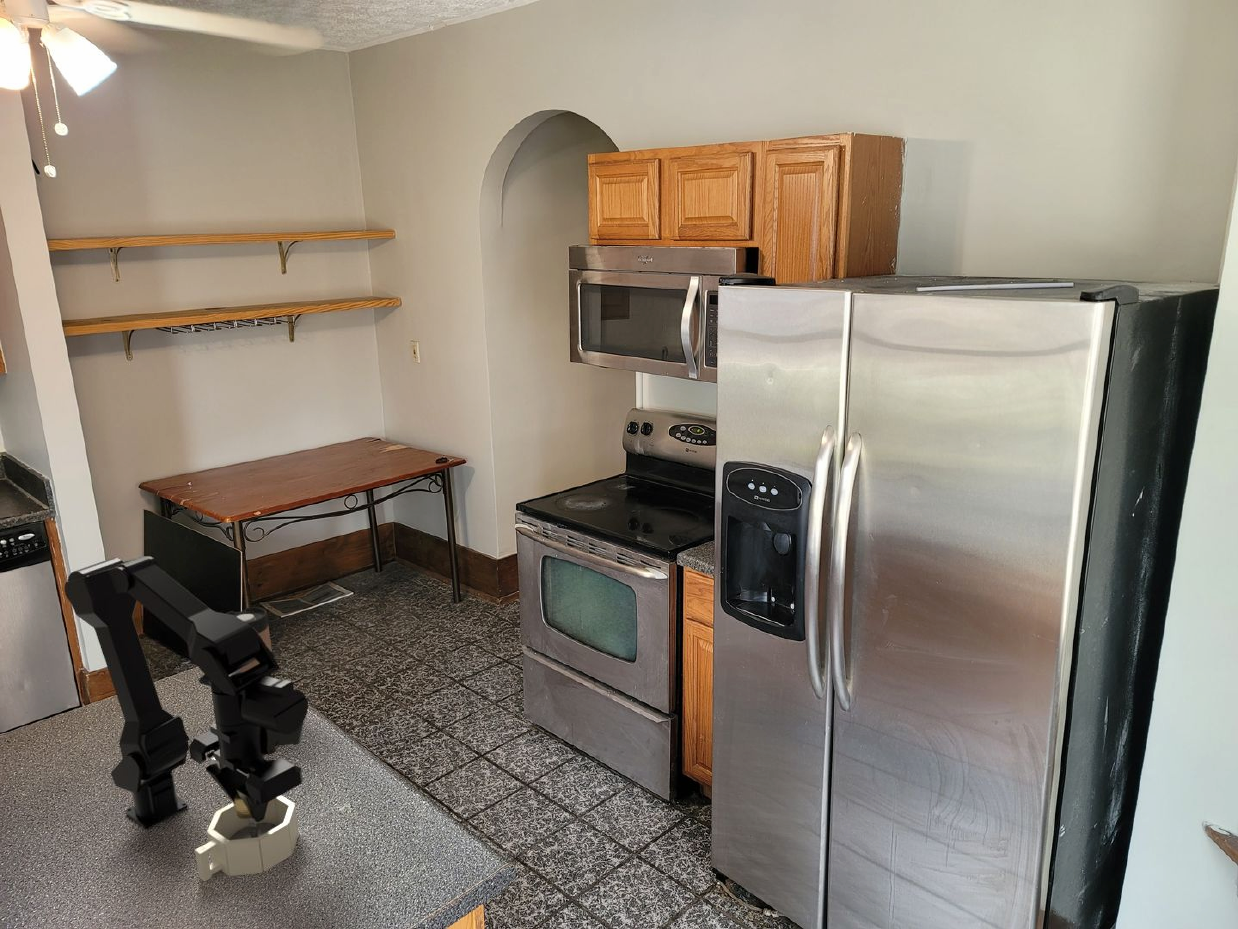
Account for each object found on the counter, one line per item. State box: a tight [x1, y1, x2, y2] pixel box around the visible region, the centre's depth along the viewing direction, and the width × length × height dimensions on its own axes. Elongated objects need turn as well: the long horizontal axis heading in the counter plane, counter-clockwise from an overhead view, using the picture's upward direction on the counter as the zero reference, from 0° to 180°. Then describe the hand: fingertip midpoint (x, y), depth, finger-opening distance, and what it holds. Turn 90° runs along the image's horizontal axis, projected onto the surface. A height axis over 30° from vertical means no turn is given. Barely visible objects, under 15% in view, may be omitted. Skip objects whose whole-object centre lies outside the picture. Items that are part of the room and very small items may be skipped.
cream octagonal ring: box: [194, 794, 300, 882], centre depth 124 cm, size 11×13×5 cm
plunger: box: [230, 793, 277, 840], centre depth 125 cm, size 7×7×8 cm
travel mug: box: [225, 606, 276, 678], centre depth 158 cm, size 8×8×20 cm
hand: (251, 815), depth 125 cm, fingers closed on plunger, 4 cm apart
